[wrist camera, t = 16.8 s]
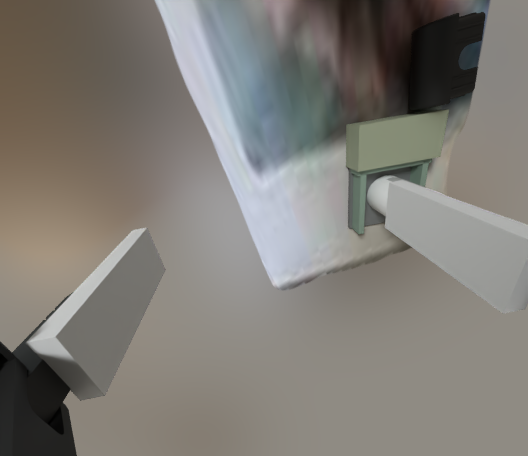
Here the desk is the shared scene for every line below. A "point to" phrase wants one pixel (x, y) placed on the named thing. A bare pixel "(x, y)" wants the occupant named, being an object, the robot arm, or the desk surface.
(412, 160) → the chute bracket
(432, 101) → the end cap
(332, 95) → the desk surface
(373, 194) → the spray bottle
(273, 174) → the desk surface
